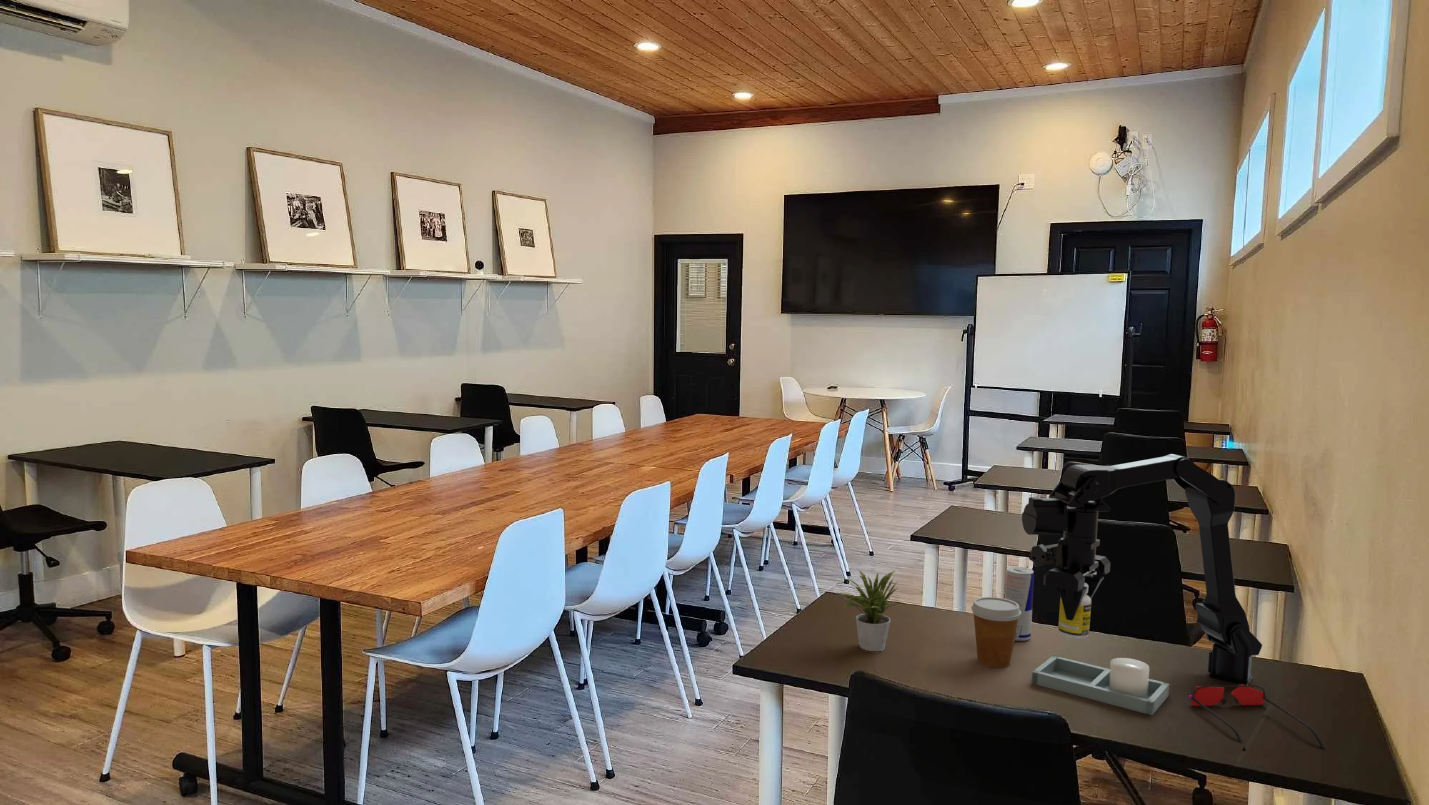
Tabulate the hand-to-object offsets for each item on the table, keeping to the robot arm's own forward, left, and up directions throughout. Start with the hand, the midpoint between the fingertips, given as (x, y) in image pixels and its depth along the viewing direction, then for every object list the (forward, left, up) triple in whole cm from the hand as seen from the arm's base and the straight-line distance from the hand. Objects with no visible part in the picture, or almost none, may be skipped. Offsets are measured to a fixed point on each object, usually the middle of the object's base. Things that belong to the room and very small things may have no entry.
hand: (1075, 616), depth 174 cm
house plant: (+39, +7, -14) cm, 42 cm away
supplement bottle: (0, 0, -4) cm, 4 cm away
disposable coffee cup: (+16, -1, -14) cm, 21 cm away
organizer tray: (-5, +1, -13) cm, 14 cm away
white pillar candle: (-10, +1, -13) cm, 16 cm away
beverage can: (+18, -18, -14) cm, 29 cm away
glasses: (-30, -2, -14) cm, 33 cm away
